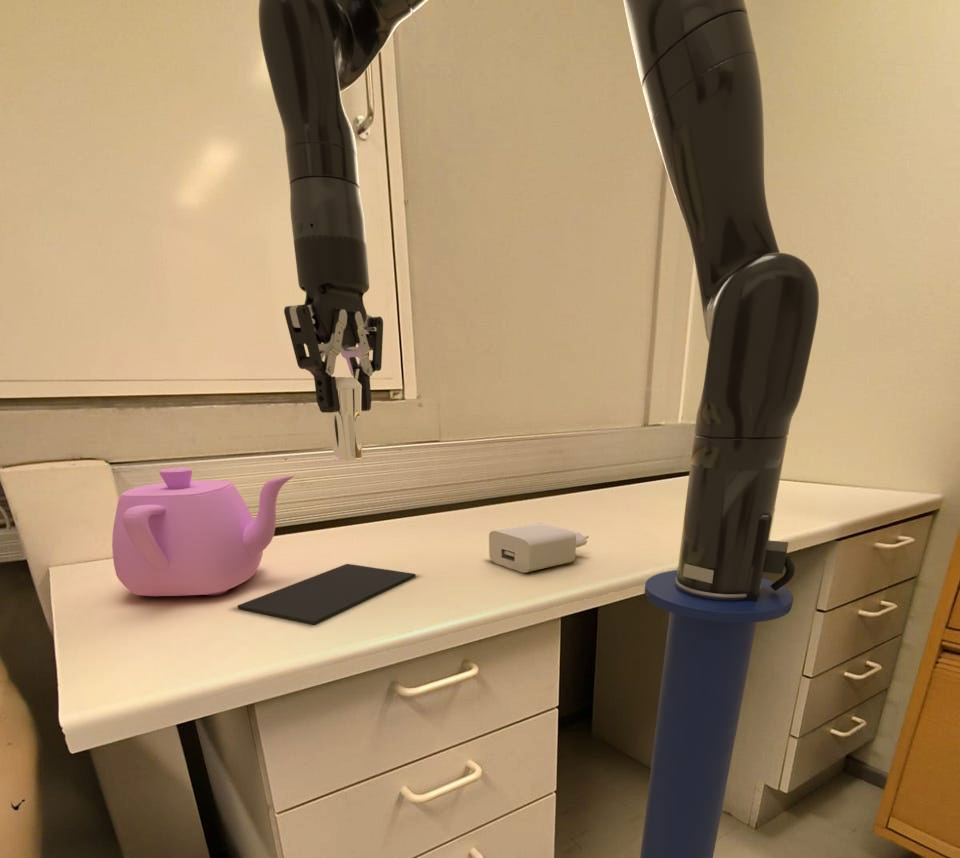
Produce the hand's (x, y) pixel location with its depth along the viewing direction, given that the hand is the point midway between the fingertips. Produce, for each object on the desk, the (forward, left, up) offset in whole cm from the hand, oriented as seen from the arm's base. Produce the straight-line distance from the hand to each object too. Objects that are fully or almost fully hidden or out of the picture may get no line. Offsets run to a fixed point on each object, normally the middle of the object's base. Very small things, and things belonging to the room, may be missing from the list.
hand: (346, 410), depth 68 cm
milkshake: (0, 0, -6) cm, 6 cm away
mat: (+2, +4, -21) cm, 22 cm away
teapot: (+20, +9, -22) cm, 31 cm away
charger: (-17, -22, -22) cm, 35 cm away
